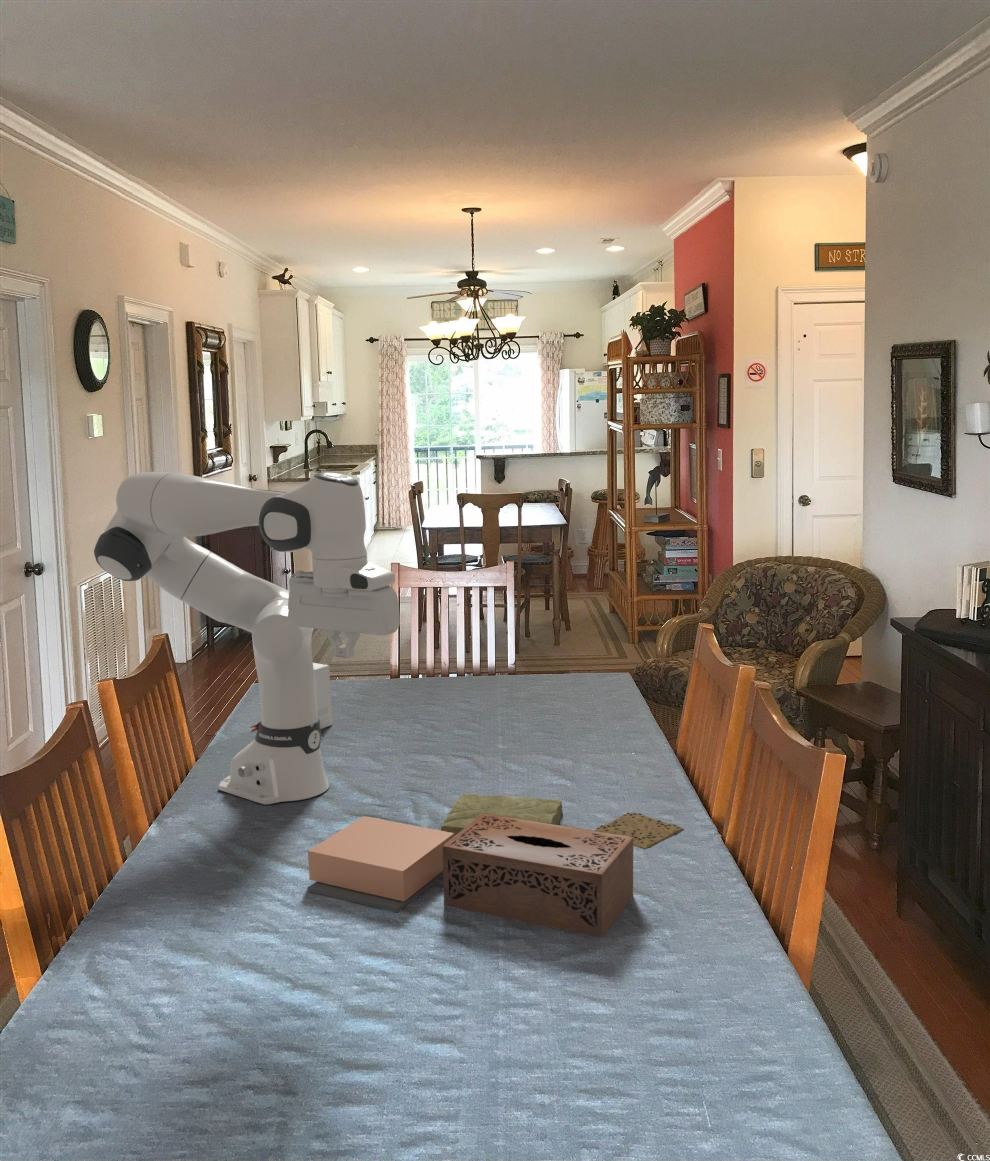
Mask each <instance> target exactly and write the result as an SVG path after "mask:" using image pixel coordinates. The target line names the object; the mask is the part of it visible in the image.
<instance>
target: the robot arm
mask: <svg viewBox="0 0 990 1161" xmlns="http://www.w3.org/2000/svg"><path fill="white" fill-rule="evenodd" d="M115 496H116V498H115V499H116V500H115V502H116V506H117V509H116V512H115V513H114V515H113V516H112V517H111V519H110V521H109V523H108V525H106V528H105V530H104V532H103V533H102V534H100V535H99V537H98V539H97V541H96V543H95V545H94V546H95V547H94V549H93V550H94V551H93V554H94V558H95V560H96V562H97V564H98V566H99V567H100V568H101V569H102V570H104V572H106V573H108V575H110V576H113V577H114V578H117V579H118V580H121V581H124V582H125V581H126V582H137V581H139V580H140V579H142V578H143V577H145V576H147V577H148V578H149V579H150V581H152V582H153V583H155V584H156V585H157V586H158V587H159V588H161V589H162V590H164V591H165V592H167V593H168V594H169V595H171V596H173V597H174V598H176V599H178V600H179V601H181V602H183V603H185V604H186V605H188V606H189V607H192V608H194V609H195V610H197V611H199V612H201V613H202V614H204V615H205V616H208V617H209V618H211V619H213V620H215V621H217V622H219V623H224V624H227V625H230V626H234V627H237V628H239V629H242V630H244V631H247V632H249V633H251V638H252V640H251V641H252V650H253V655H254V662H255V669H256V674H257V680H258V687H259V690H258V691H259V700H260V701H259V702H260V703H259V704H260V705H259V706H260V721H258V722H257V723H256V724H254V725H252V726H250V727H249V728H251V730H250V733H252V732H256V734H255V737H254V740H252V741H251V742H250V743H249V744H247V745H246V746H245V747H244V748H242V750H240V751H239V752H237V753H236V754H235V755H234V756H233V758H232V760H231V762H230V769H229V775H228V776H226V777H225V778H224V779H222V780H221V781H220V782H219V784H218V791H222V792H225V793H228V794H230V795H233V796H237V797H240V798H243V799H246V800H248V801H251V802H255V803H258V804H261V805H272V804H276V803H281V802H293V801H301V800H307V799H311V798H313V797H316V796H318V795H321V794H323V793H324V792H326V791H327V790H328V789H329V787H330V783H329V780H328V777H327V774H326V771H325V766H324V763H323V762H324V761H323V758H322V752H321V740H322V739H321V738H322V732H321V730H322V729H320V719H319V718H318V717H317V697H316V680H315V675H314V668H313V663H314V660H313V652H312V637H313V631H314V629H318V630H326V637H327V639H328V640H329V642H330V644H331V646H332V647H333V648H332V649H333V656H334V657H337V658H345V659H351V658H353V657H354V656H355V646H356V644H357V642H358V640H359V638H360V634H364V635H365V634H366V635H375V636H388V635H389V636H390V635H391V634H394V633H396V632H397V630H398V629H399V627H400V625H401V624H400V622H401V619H400V617H401V615H400V606H399V605H400V603H399V599H398V594H397V592H396V590H395V589H394V588H393V587H392V585H394V584H395V582H396V576H395V573H394V572H393V571H391V570H389V569H387V568H385V567H382V566H381V565H378V564H377V563H374V562H372V561H370V560H368V552H367V549H366V544H365V533H366V529H367V525H366V523H367V522H366V509H365V502H364V501H365V500H364V494H363V490H362V486H361V485H360V482H359V481H358V480H357V479H356V478H355V477H353V476H351V475H348V474H345V473H341V472H340V473H339V472H338V473H337V472H330V471H329V472H319V473H316V474H314V475H312V476H311V478H310V479H309V480H308V481H306V482H305V483H304V484H301V485H300V486H298V487H297V488H295V489H292V490H289V491H275V490H266V489H257V488H250V487H245V486H241V485H236V484H232V483H227V482H223V481H218V480H214V479H210V478H206V477H203V476H197V475H194V474H193V475H192V474H187V473H182V472H173V471H144V472H137V473H133V474H131V475H129V476H126V478H125V479H124V480H123V481H122V482H121V483H120V485H119V486H118V489H117V493H116V495H115ZM255 526H257V527H258V526H259V531H260V534H261V537H262V538H263V540H264V541H265V543H266V544H267V545H268V546H269V547H270V548H271V550H272V549H273V550H274V551H276V552H279V553H280V552H281V553H283V552H284V553H293V552H294V553H295V552H300V551H303V550H310V551H311V562H312V564H311V566H312V571H304V570H296V572H294V573H293V574H291V576H290V577H289V580H288V583H289V584H288V586H289V588H288V589H289V590H288V589H287V588H283V587H281V586H279V585H277V584H275V583H273V582H270V581H268V580H266V579H264V578H261V577H258V576H256V575H254V574H252V573H250V572H248V571H245V569H242V568H240V567H239V566H237V565H235V564H234V563H232V562H229V561H227V559H225V558H224V557H221V556H220V555H218V554H216V553H214V552H213V551H211V550H209V549H207V548H205V547H203V546H201V545H199V544H197V543H195V542H193V541H192V540H190V539H189V538H190V537H203V536H208V535H214V534H217V533H222V532H226V531H231V530H236V529H240V528H246V527H255ZM187 537H189V538H187ZM342 632H344V635H345V638H346V639H347V641H346V643H345V644H344V643H343V642H342V639H341V637H340V635H341V634H342Z"/></svg>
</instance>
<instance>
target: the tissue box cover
mask: <svg viewBox="0 0 990 1161" xmlns="http://www.w3.org/2000/svg"><path fill="white" fill-rule="evenodd" d="M442 847H443V877H442V878H443V880H442V881H443V906H444V907H448V908H454V909H458V910H463V911H468V912H473V913H478V914H482V915H487V916H493V917H498V918H503V919H507V920H513V921H517V922H523V923H527V924H532V925H536V926H540V927H541V926H542V927H546V928H552V929H556V930H561V931H562V930H563V931H567V932H572V933H576V934H580V935H581V934H582V935H585V936H592V937H596V938H599V939H603V937H604V936H605V935H606V933H607V932H608V931H609V929H611V927H612V925H613V924H614V923H615V921H617V919H618V917H619V916H620V914H621V913H623V910H624V909H625V907H626V906H627V904H628V903H629V902H630V901H631V899H632V898H633V897H634V845H633V837H629V836H623V835H617V834H611V833H605V832H598V831H594V830H592V829H585V828H579V827H575V826H574V827H573V826H566V825H560V824H558V825H555V824H549V823H543V822H536V821H530V820H524V819H518V818H512V817H505V816H499V815H493V814H487V813H483V814H482V815H480V816H479V817H478V818H477V819H475V820H474V821H473V822H472V823H470V824H469V825H468V826H467V827H465V828H464V829H463V830H462V831H461V832H459V833H458V834H457V835H456V836H454V837H453V838H452V839H451V840H449V841H448V842H447V843H446V844H444V845H443V846H442Z"/></svg>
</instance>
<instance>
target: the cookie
mask: <svg viewBox="0 0 990 1161" xmlns="http://www.w3.org/2000/svg"><path fill="white" fill-rule="evenodd" d="M684 830H685V828H684V827H681V826H678V825H677V824H674V823H673V824H672V823H668V822H665V821H662V820H660V819H656V818H653V817H649V816H647V815H645V814H642V813H637V812H635V811H632V812H627V813H624V814H623V815H622V816H619V817H617V818H615V819H614V820H612V821H610V822H607V823H605V824H601V825H599V826H598V827H596V828H595V829H594V830H593V831H598V832H605V833H611V834H617V835H623V836H629V837H633V847H636V848H640V849H643V850H648V849H650V848H652V847H653V846H655V845H658V844H659V843H661V842H664V840H666V839H669V838H670V837H671V838H672V836H675V835H677V834H678V833H680V832H683V831H684Z"/></svg>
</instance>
